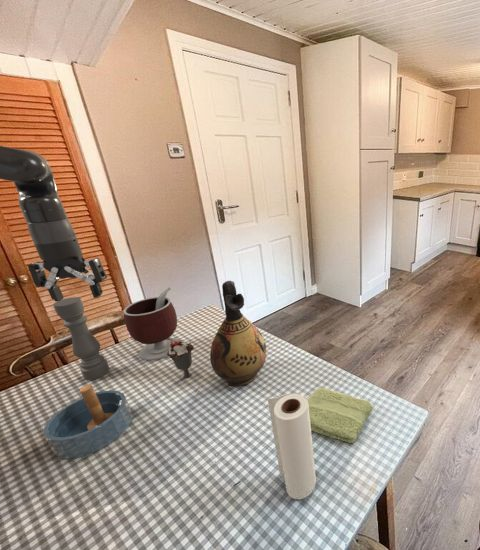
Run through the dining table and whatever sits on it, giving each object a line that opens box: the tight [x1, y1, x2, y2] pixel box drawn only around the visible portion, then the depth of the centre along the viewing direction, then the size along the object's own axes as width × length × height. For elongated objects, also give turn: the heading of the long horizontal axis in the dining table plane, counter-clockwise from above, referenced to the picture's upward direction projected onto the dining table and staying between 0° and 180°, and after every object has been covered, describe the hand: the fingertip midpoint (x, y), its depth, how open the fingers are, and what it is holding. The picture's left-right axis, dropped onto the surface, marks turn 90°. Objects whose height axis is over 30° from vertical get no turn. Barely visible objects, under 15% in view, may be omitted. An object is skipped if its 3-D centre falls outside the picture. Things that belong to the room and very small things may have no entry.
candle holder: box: [52, 296, 111, 381], centre depth 89 cm, size 6×6×25 cm
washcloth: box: [306, 387, 374, 444], centre depth 77 cm, size 13×18×3 cm
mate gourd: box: [123, 287, 181, 361], centre depth 102 cm, size 16×14×20 cm
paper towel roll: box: [267, 393, 317, 500], centre depth 58 cm, size 7×6×21 cm
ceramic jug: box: [209, 280, 268, 388], centre depth 88 cm, size 17×15×30 cm
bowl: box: [42, 389, 133, 460], centre depth 72 cm, size 15×15×6 cm
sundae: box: [167, 337, 195, 380], centre depth 89 cm, size 7×7×15 cm
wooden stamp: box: [79, 384, 113, 430], centre depth 73 cm, size 5×5×12 cm
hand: (79, 298), depth 79 cm, fingers open, 8 cm apart
